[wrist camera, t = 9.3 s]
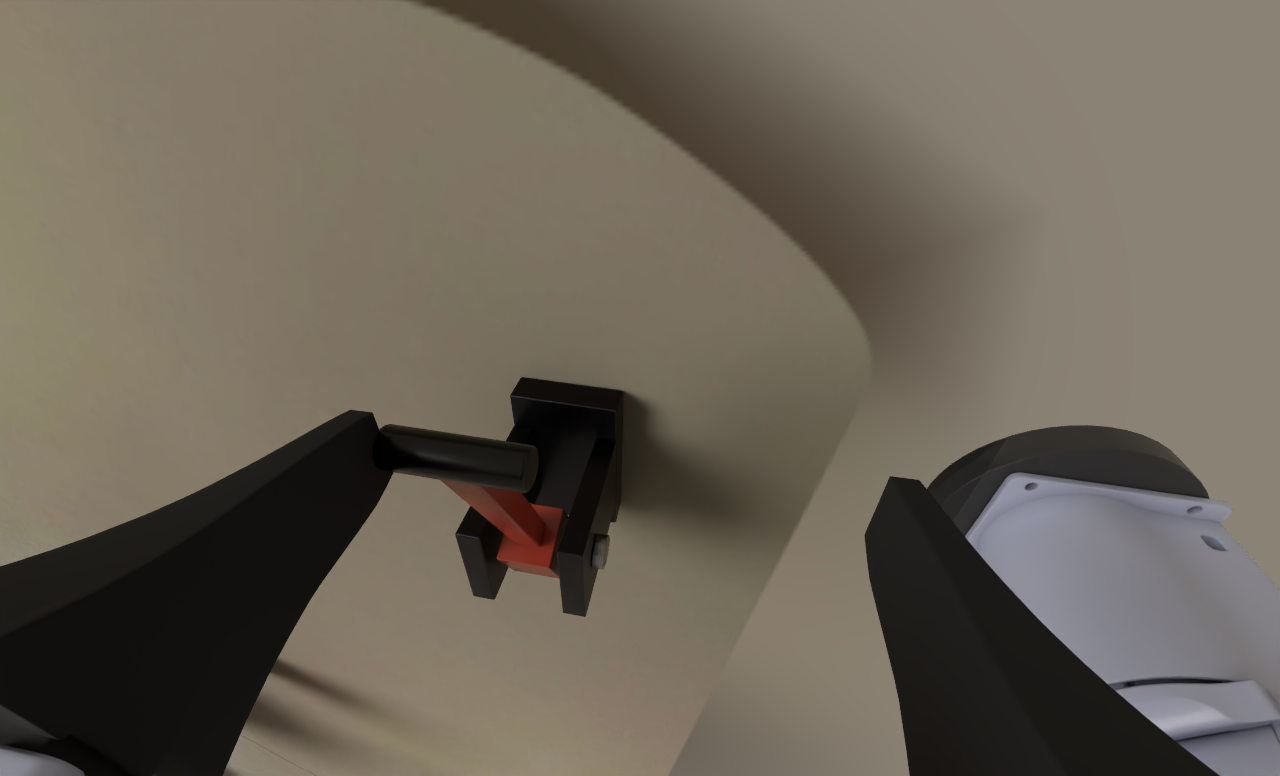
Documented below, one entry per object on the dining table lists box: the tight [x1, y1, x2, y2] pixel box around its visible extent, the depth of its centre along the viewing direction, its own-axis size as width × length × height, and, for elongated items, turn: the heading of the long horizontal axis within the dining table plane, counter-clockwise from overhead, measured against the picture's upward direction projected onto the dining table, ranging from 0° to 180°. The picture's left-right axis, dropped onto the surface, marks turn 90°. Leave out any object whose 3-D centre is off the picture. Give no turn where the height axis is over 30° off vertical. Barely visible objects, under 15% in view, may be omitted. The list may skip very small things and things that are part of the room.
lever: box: [372, 424, 569, 579], centre depth 18 cm, size 12×4×2 cm, turn 178°
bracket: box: [455, 377, 623, 617], centre depth 24 cm, size 8×6×8 cm
